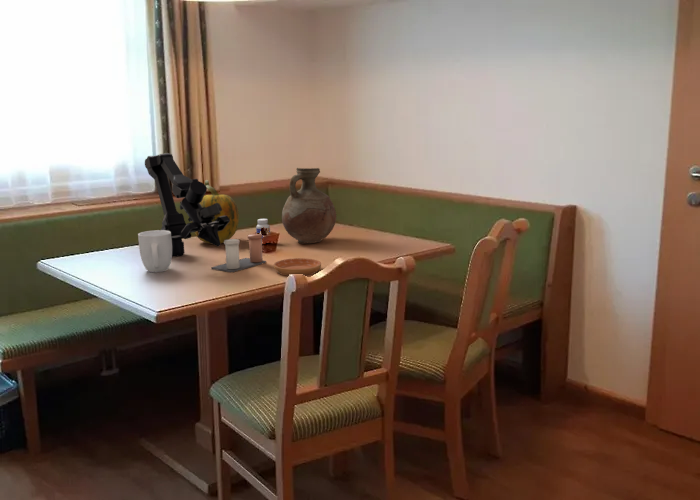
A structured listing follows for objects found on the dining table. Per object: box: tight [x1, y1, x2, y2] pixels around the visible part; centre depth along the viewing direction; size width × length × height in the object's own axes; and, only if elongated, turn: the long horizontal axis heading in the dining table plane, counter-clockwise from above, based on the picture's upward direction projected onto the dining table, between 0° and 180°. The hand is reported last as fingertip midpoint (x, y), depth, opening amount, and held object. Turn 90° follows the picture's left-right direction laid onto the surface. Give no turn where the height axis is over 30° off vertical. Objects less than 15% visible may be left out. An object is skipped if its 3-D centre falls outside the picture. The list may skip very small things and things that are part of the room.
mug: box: [137, 229, 173, 273], centre depth 251 cm, size 15×11×13 cm
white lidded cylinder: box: [223, 238, 240, 269], centre depth 250 cm, size 5×5×9 cm
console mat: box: [210, 257, 267, 273], centre depth 258 cm, size 10×17×1 cm, turn 144°
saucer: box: [273, 257, 322, 276], centre depth 248 cm, size 16×16×3 cm
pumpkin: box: [194, 179, 240, 245], centre depth 295 cm, size 19×19×25 cm
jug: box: [281, 167, 337, 245], centre depth 292 cm, size 22×22×30 cm
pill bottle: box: [255, 218, 271, 234], centre depth 294 cm, size 5×5×10 cm
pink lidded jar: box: [247, 233, 264, 262], centre depth 259 cm, size 5×5×9 cm
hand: (219, 245), depth 254 cm, fingers closed
